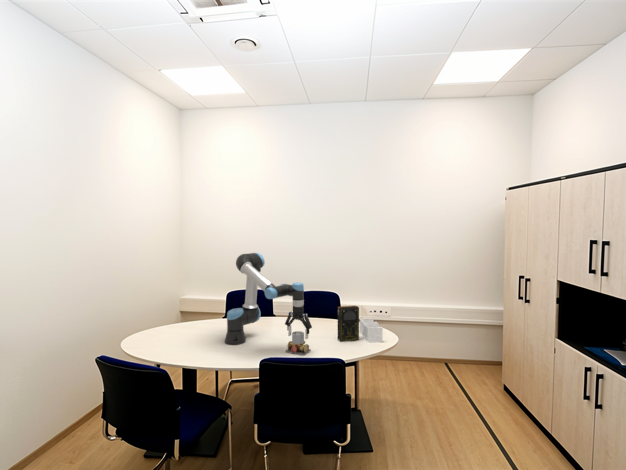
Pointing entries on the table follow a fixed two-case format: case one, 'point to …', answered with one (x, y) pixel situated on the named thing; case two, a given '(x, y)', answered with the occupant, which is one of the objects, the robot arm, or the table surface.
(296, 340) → the coupling
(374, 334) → the storage container
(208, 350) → the table surface
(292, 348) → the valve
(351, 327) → the voltmeter
